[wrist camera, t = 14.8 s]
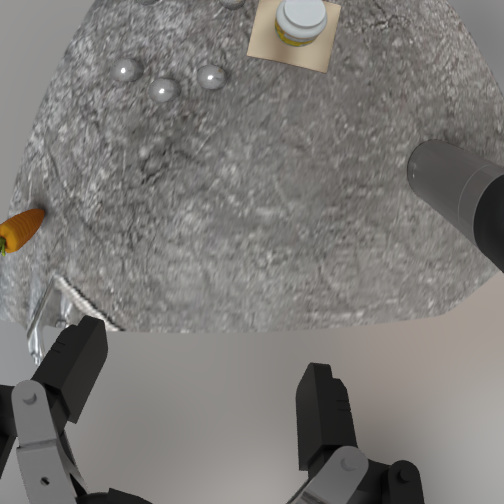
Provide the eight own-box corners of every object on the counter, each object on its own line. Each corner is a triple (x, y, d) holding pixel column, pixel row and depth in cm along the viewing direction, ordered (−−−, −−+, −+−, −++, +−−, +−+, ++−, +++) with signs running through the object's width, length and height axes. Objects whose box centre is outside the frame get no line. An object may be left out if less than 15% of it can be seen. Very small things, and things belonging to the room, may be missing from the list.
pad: (340, 7, 30) (341, 6, 29) (325, 73, 34) (326, 73, 34) (262, -11, 29) (262, -13, 28) (246, 55, 34) (246, 55, 33)
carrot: (32, 196, 44) (-25, 234, 30) (53, 199, 44) (-4, 240, 31) (35, 222, 46) (-18, 265, 33) (55, 227, 46) (2, 272, 33)
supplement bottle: (311, 53, 33) (324, 40, 24) (269, 40, 32) (269, 24, 24) (322, 17, 30) (338, -4, 22) (280, 4, 30) (285, -20, 21)
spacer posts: (250, -22, 28) (249, -33, 25) (221, 108, 37) (216, 109, 34) (146, -27, 27) (135, -35, 24) (119, 97, 36) (106, 98, 33)
